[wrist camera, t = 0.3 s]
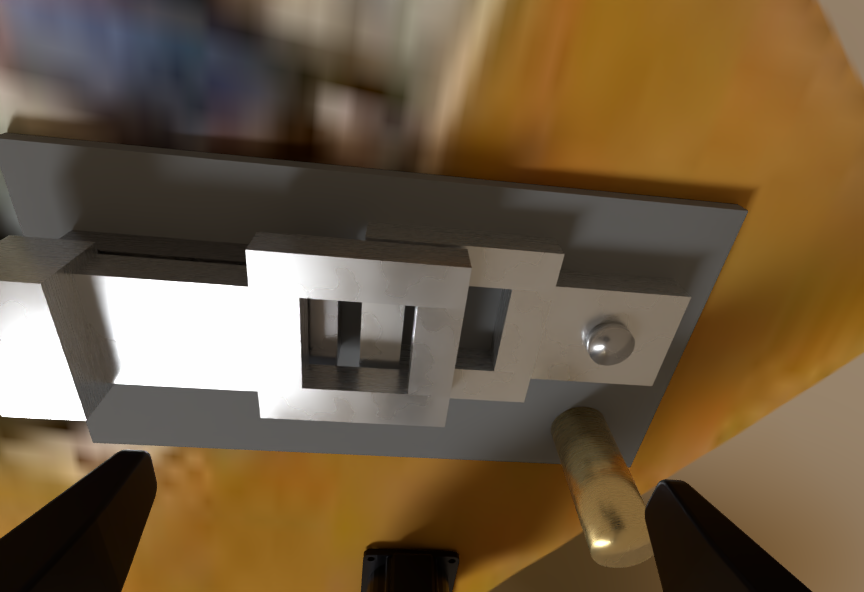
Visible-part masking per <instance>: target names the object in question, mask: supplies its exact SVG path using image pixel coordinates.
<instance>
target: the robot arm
mask: <svg viewBox="0 0 864 592" xmlns="http://www.w3.org/2000/svg"><path fill="white" fill-rule="evenodd" d="M156 491H157V481H156V477H155V472H154V468H153V464H152V459H151V456H150V454H149V453H148V452H147V451H143V450H122V451H119V452H117V453H116V454H114V455H113V456H112V457H110V458H109V459H108V460H106V461H105V462H104V463H102V464H101V465H100V466H98V467H97V468H95V469H94V470H93V471H91V472H90V473H89V474H87V475H86V476H85V477H83V478H82V479H81V480H79V481H78V482H76V483H75V484H74V485H72V486H71V487H70V488H68V489H67V490H66V491H64V492H63V493H62V494H60V495H59V496H58V497H56V498H55V499H53V500H52V501H51V502H49V503H48V504H47V505H45V506H44V507H43V508H41V509H40V510H39V511H37V512H36V513H34V514H33V515H32V516H30V517H29V518H28V519H26V520H25V521H24V522H22V523H21V524H20V525H18V526H17V527H16V528H14V529H13V530H11V531H10V532H9V533H7V534H6V535H5V536H3V537H2V538H1V539H0V592H121V591H122V588H123V585H124V583H125V580H126V578H127V575H128V572H129V569H130V566H131V564H132V561H133V558H134V555H135V552H136V550H137V547H138V544H139V541H140V538H141V536H142V533H143V530H144V527H145V524H146V522H147V519H148V516H149V513H150V510H151V507H152V505H153V502H154V499H155V496H156ZM645 522H646V526H647V530H648V534H649V538H650V542H651V546H652V550H653V553H654V557H655V561H656V565H657V569H658V573H659V577H660V581H661V585H662V589H663V592H812V591H811V590H810V589H809V588H807V587H806V586H805V585H804V584H803V583H802V582H801V581H799V580H798V579H797V578H796V577H795V576H794V575H792V574H791V573H790V572H789V571H788V570H787V569H785V568H784V567H783V566H782V565H781V564H779V562H777V561H776V560H775V559H774V558H773V557H772V556H770V555H769V554H768V553H767V552H766V551H765V550H764V549H762V548H761V547H760V546H759V545H758V544H757V543H755V542H754V541H753V540H752V539H751V538H750V537H749V536H748V535H746V534H745V533H744V532H743V531H742V530H741V529H739V528H738V527H737V526H736V525H735V524H734V523H733V522H731V521H730V520H729V519H728V518H727V517H726V516H725V515H723V514H722V513H721V512H720V511H719V510H718V509H717V508H715V507H714V506H713V505H712V504H711V503H709V502H708V501H707V500H706V499H705V498H704V497H703V496H701V495H700V494H699V493H698V492H697V491H696V490H695V489H694V488H692V487H691V486H690V485H689V484H687V483H686V482H684V481H681V480H667V479H665V480H661V481H660V482H659V483H658V484H657V486H656V488H655V490H654V492H653V494H652V496H651V497H650V499H649V501H648V503H647V505H646V508H645ZM458 564H459V554H458V553H457V552H454V551H424V550H389V549H368V550H366V551H365V552H364V557H363V571H362V586H361V592H452V590H453V585H454V581H455V577H456V573H457V569H458Z"/></svg>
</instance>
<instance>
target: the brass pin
mask: <svg viewBox="0 0 864 592" xmlns="http://www.w3.org/2000/svg"><path fill="white" fill-rule="evenodd" d="M551 435H552V438H553V441H554V444H555V447H556V450H557V453H558V456H559V459H560V462H561V465H562V468H563V471H564V474H565V477H566V480H567V483H568V486H569V489H570V492H571V495H572V498H573V501H574V505H575V508H576V511H577V514H578V517H579V520H580V523H581V526H582V529H583V532H584V535H585V538H586V541H587V544H588V547H589V550H590V553H591V556H592V558H593V560H594V561H595V562H597V563H598V564H600V565H602V566H606V567H612V568H622V567H629V566H633V565H636V564H639V563H642V562H644V561H646V560H647V559H649V558H650V557H652V556H653V555H654V553H653V550H652V546H651V542H650V538H649V534H648V530H647V526H646V522H645V508H646V506H645V504H644V501H643V499H642V497H641V495H640V493H639V491H638V489H637V487H636V484H635V482H634V480H633V478H632V476H631V474H630V472H629V469H628V467H627V465H626V463H625V461H624V459H623V457H622V455H621V452H620V450H619V448H618V446H617V444H616V442H615V440H614V438H613V435H612V433H611V431H610V429H609V427H608V425H607V423H606V420H605V418H604V416H603V415H602V413H601V412H599V411H598V410H596V409H594V408H590V407H575V408H571V409H569V410H566V411H564V412H563V413H561V414H560V415H559V416H557V417H556V419H555V420H554V421H553V423H552V425H551Z"/></svg>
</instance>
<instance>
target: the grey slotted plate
mask: <svg viewBox="0 0 864 592" xmlns="http://www.w3.org/2000/svg"><path fill="white" fill-rule="evenodd" d="M59 239H63V240H76V241H88V242H96V246H97V250H98V254H104V255H117V256H129V257H142V258H155V259H168V260H180V261H193V262H206V263H219V264H232V265H244V266H247V263H246V252H245V249H246V248H247V246H248V245H249V244H240V243H227V242H215V241H203V240H191V239H179V238H167V237H154V236H142V235H130V234H118V233H106V232H94V231H81V230H71V231H70V232H68V233H67V234H65V235H64V236H62V237H61V238H59ZM365 241H377V242H389V243H401V244H413V245H424V246H436V247H448V248H460V249H468V254H469V258H470V262H471V266H472V271H471V276H470V282H469V286H475V287H488V288H501V289H502V292H501V297H500V302H499V306H498V311H497V316H496V321H495V325H494V330H493V335H492V339H491V344H490V349H489V350H476V349H461V348H458V352H457V358H456V364H455V370H454V376H453V382H452V388H451V393H450V398H454V399H472V400H489V401H507V402H524V401H525V397H526V393H527V390H528V386H529V382H530V379H545V380H561V381H577V382H594V383H610V384H626V385H643V386H652V385H653V383H654V381H655V379H656V376H657V374H658V372H659V369H660V367H661V365H662V363H663V360H664V358H665V356H666V354H667V351H668V349H669V347H670V344H671V342H672V340H673V338H674V335H675V333H676V331H677V329H678V326H679V324H680V322H681V319H682V317H683V315H684V313H685V310H686V308H687V306H688V304H689V301H690V299H691V296H690V295H689V294H688V293H687V292H686V291H685V290H684V289H683V288H682V287H681V286H680V285H679V284H678V283H677V282H676V281H675V280H674V279H665V278H653V277H641V276H629V275H617V274H605V273H592V272H580V271H568V270H560V269H561V266H562V262H563V258H564V255H565V254H564V252H563V251H562V249H561V248H560V246H559V244H558V243H557V241H556V240H555V238H549V237H538V236H526V235H515V234H504V233H492V232H481V231H470V230H458V229H447V228H436V227H424V226H413V225H402V224H390V223H379V222H368V225H367V230H366V235H365ZM307 301H308V350H309V364H316V365H332V366H337V364H338V359H339V354H340V349H341V329H342V301H337V300H323V299H310V298H307ZM404 311H405V305H391V304H378V303H364V302H362V316H361V338H360V360H359V367H365V368H381V369H397V370H408V365H409V356H410V346H411V345H401V341H402V331H403V321H404Z"/></svg>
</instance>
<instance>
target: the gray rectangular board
mask: <svg viewBox="0 0 864 592" xmlns="http://www.w3.org/2000/svg"><path fill="white" fill-rule="evenodd" d="M0 167H1V170H2V173H3V176H4V179H5V182H6V185H7V188H8V191H9V194H10V197H11V200H12V203H13V206H14V209H15V212H16V215H17V218H18V221H19V224H20V227H21V230H22V233H23V236H26V237H38V238H51V239H59V238H61V237H62V236H64V235H65V234H67V233H68V232H70V231H71V230H81V231H94V232H106V233H118V234H130V235H142V236H154V237H167V238H179V239H191V240H203V241H215V242H227V243H240V244H249V243H250V242H251V240H252V239H253V237H254V236H255V234H256V233H257V231H259V232H271V233H283V234H294V235H306V236H318V237H330V238H342V239H353V240H365V235H366V230H367V225H368V222H379V223H390V224H402V225H413V226H424V227H436V228H447V229H458V230H470V231H481V232H492V233H504V234H515V235H526V236H538V237H549V238H555V240H556V241H557V243H558V244H559V246H560V248H561V249H562V251H563V252H564V254H565V255H564V258H563V262H562V266H561V269H560V270H568V271H580V272H592V273H605V274H617V275H629V276H641V277H653V278H665V279H674V280H675V281H676V282H677V283H678V284H679V285H680V286H681V287H682V288H683V289H684V290H685V291H686V292H687V293H688V294H689V295H690V296H691V299H690V301H689V304H688V306H687V308H686V310H685V313H684V315H683V317H682V319H681V322H680V324H679V326H678V329H677V331H676V333H675V335H674V338H673V340H672V342H671V344H670V347H669V349H668V351H667V354H666V356H665V358H664V360H663V363H662V365H661V367H660V369H659V372H658V374H657V376H656V379H655V381H654V383H653V385H652V386H643V385H626V384H610V383H594V382H577V381H561V380H545V379H530V382H529V386H528V390H527V393H526V397H525V401H524V402H507V401H489V400H472V399H454V398H450V399H449V405H448V411H447V417H446V423H445V427H430V426H410V425H391V424H371V423H352V422H332V421H313V420H293V419H274V418H260V408H259V397H258V391H243V390H225V389H207V388H189V387H171V386H154V385H136V384H118V383H115V384H114V386H113V387H112V388H111V390H110V391H109V392H108V393H107V395H106V396H105V397H104V399H103V400H102V401H101V402H100V404H99V405H98V406H97V408H96V409H95V410H94V411H93V413H92V414H91V415H90V417H89V418H88V419H87V421H86V423H87V426H88V429H89V432H90V435H91V438H92V441H93V443H111V444H133V445H155V446H177V447H199V448H221V449H243V450H265V451H287V452H309V453H331V454H353V455H375V456H397V457H419V458H441V459H463V460H485V461H507V462H529V463H551V464H561V462H560V459H559V456H558V453H557V450H556V447H555V444H554V441H553V438H552V435H551V425H552V423H553V421H554V420H555V419H556V417H557V416H559V415H560V414H561V413H563V412H564V411H566V410H569V409H571V408H575V407H590V408H594V409H596V410H598V411H599V412H601V413H602V415H603V416H604V418H605V420H606V423H607V425H608V427H609V429H610V431H611V433H612V435H613V438H614V440H615V442H616V444H617V446H618V448H619V450H620V452H621V455H622V457H623V459H624V461H625V463H626V465H627V467H630V466H631V464H632V462H633V460H634V458H635V456H636V453H637V451H638V449H639V447H640V445H641V443H642V440H643V438H644V436H645V434H646V432H647V430H648V427H649V425H650V423H651V421H652V419H653V417H654V414H655V412H656V410H657V408H658V406H659V404H660V401H661V399H662V397H663V395H664V393H665V391H666V388H667V386H668V384H669V382H670V380H671V378H672V375H673V373H674V371H675V369H676V367H677V364H678V362H679V360H680V358H681V356H682V354H683V351H684V349H685V347H686V345H687V343H688V341H689V338H690V336H691V334H692V332H693V330H694V328H695V325H696V323H697V321H698V319H699V317H700V315H701V312H702V310H703V308H704V306H705V304H706V302H707V299H708V297H709V295H710V293H711V291H712V289H713V286H714V284H715V282H716V280H717V278H718V276H719V273H720V271H721V269H722V267H723V265H724V263H725V260H726V258H727V256H728V254H729V252H730V249H731V247H732V245H733V243H734V241H735V239H736V236H737V234H738V232H739V230H740V228H741V226H742V223H743V221H744V219H745V217H746V215H747V213H748V211H747V210H746V209H744V208H743V207H741V206H739V205H738V204H728V203H718V202H708V201H698V200H687V199H677V198H667V197H657V196H647V195H636V194H626V193H616V192H606V191H596V190H585V189H575V188H565V187H555V186H544V185H534V184H524V183H514V182H504V181H493V180H483V179H473V178H463V177H452V176H442V175H432V174H422V173H412V172H401V171H391V170H381V169H371V168H360V167H350V166H340V165H330V164H320V163H309V162H299V161H289V160H279V159H269V158H258V157H248V156H238V155H228V154H217V153H207V152H197V151H187V150H177V149H166V148H156V147H146V146H136V145H125V144H115V143H105V142H95V141H85V140H74V139H64V138H54V137H44V136H33V135H23V134H13V133H4V134H0ZM501 292H502V289H501V288H488V287H475V286H469V288H468V294H467V300H466V306H465V312H464V317H463V323H462V329H461V335H460V341H459V347H458V348H461V349H476V350H489V349H490V344H491V339H492V335H493V330H494V325H495V321H496V316H497V311H498V306H499V302H500V297H501ZM414 310H415V306H405V311H404V321H403V331H402V341H401V345H411V337H412V328H413V319H414ZM361 316H362V302H351V301H342V329H341V349H340V354H339V359H338V364H337V366H348V367H359V360H360V338H361Z"/></svg>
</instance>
